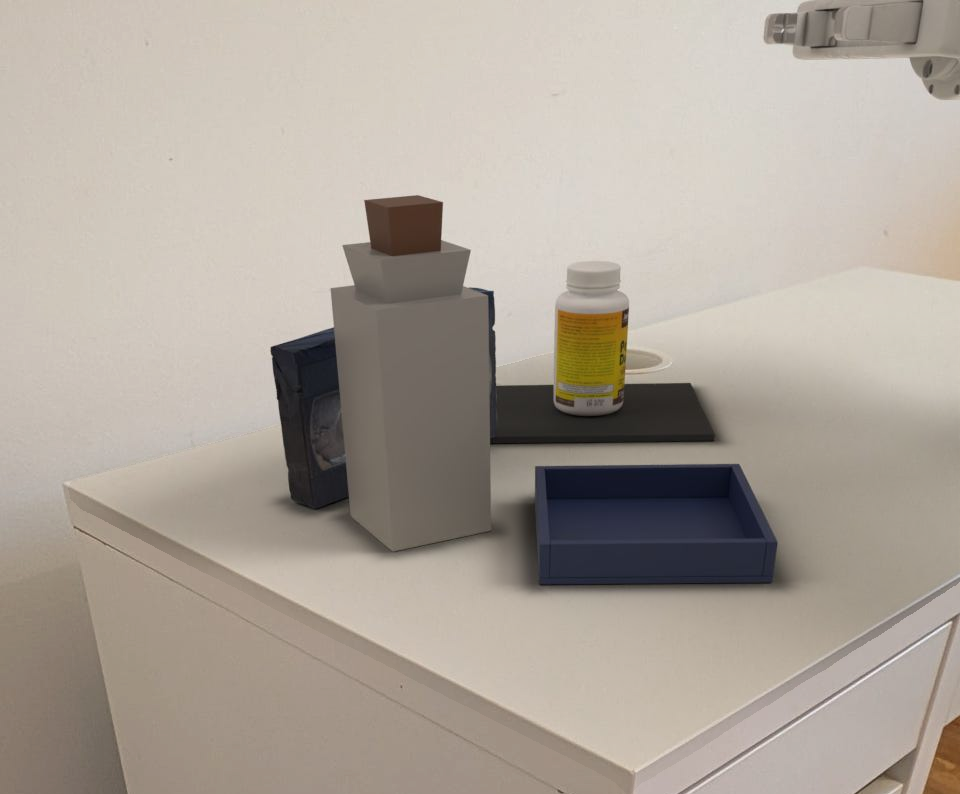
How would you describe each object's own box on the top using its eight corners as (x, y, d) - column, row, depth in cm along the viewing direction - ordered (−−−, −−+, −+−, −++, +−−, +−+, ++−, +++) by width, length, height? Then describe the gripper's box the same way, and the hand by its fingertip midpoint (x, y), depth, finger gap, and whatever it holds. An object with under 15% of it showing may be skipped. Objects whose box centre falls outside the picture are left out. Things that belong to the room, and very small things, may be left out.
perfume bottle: (350, 516, 74) (322, 198, 63) (444, 497, 76) (432, 189, 65) (392, 551, 69) (370, 214, 58) (491, 530, 71) (487, 203, 61)
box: (735, 500, 75) (739, 463, 73) (772, 582, 64) (778, 542, 63) (534, 502, 75) (535, 465, 74) (538, 584, 65) (539, 544, 63)
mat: (690, 388, 96) (690, 382, 96) (714, 440, 85) (714, 434, 84) (477, 391, 96) (477, 385, 96) (472, 443, 85) (472, 437, 85)
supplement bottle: (628, 417, 88) (637, 271, 82) (557, 420, 88) (560, 273, 82) (617, 397, 93) (625, 257, 86) (549, 399, 92) (552, 259, 86)
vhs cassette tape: (313, 511, 75) (292, 351, 68) (285, 501, 76) (261, 343, 70) (504, 437, 85) (500, 291, 78) (475, 429, 86) (469, 285, 80)
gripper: (899, -20, 87) (736, -22, 84) (1089, -43, 71) (897, -45, 68) (883, 79, 91) (727, 81, 88) (1061, 79, 75) (877, 82, 72)
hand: (802, 26), depth 78 cm, fingers open, 8 cm apart
